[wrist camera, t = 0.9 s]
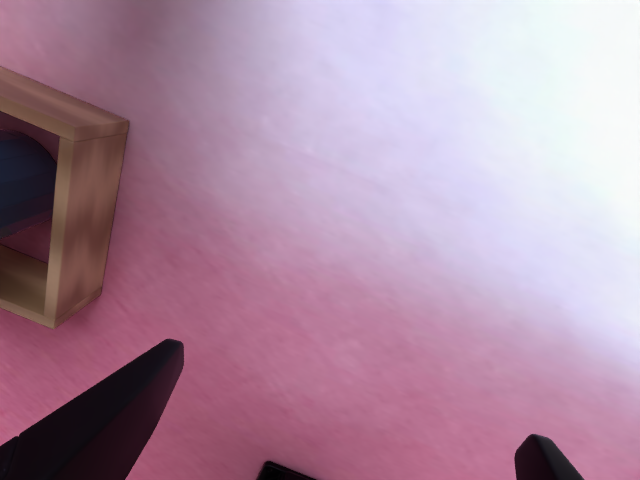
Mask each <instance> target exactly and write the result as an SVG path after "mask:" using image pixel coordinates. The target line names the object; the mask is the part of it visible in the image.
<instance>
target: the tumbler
mask: <svg viewBox="0 0 640 480" xmlns="http://www.w3.org/2000/svg"><path fill="white" fill-rule="evenodd" d="M56 173H57V165H56V163H55V161H54V160H53V158H52V157H51V156H50V154H49V153H48V152H47V151H46V150H45V149H44V148H43V147H42V146H41V145H40V144H39V143H37V142H36V141H35V140H33V139H32V138H30V137H29V136H27V135H25V134H22V133H20V132H17V131H13V130H5V129H3V130H0V240H1V239H3V238H6V237H8V236H11V235H13V234H16V233H18V232H21V231H23V230H26V229H28V228H31V227H33V226H36V225H38V224H40V223H42V222H45V221H47V220H50V219H51V218H52V217H53V206H54V195H55V184H56Z"/></svg>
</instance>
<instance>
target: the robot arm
mask: <svg viewBox="0 0 640 480" xmlns="http://www.w3.org/2000/svg"><path fill="white" fill-rule="evenodd" d="M183 365H184V345H183V343H182V342H181V341H177V340H173V339H166V340H164V341H162V342H161V343H159V344H158V345H156V346H155V347H153V348H151V349H150V350H148V351H147V352H145V353H144V354H142V355H141V356H139V357H138V358H136V359H134V360H133V361H131V362H130V363H128V364H127V365H125V366H124V367H122V368H121V369H119V370H117V371H116V372H114V373H113V374H111V375H110V376H108V377H107V378H105V379H104V380H102V381H100V382H99V383H97V384H96V385H94V386H93V387H91V388H90V389H88V390H87V391H85V392H83V393H82V394H80V395H79V396H77V397H76V398H74V399H73V400H71V401H70V402H68V403H66V404H65V405H63V406H62V407H60V408H59V409H57V410H56V411H54V412H53V413H51V414H49V415H48V416H46V417H45V418H43V419H42V420H40V421H39V422H37V423H36V424H34V425H32V426H31V427H29V428H28V429H26V430H25V431H23V432H22V433H20V435H19V437H18V436H15V437H14V438H12V439H11V440H9V441H7V442H6V443H4V444H3V445H1V446H0V480H125V479H126V477H127V476H128V474H129V472H130V471H131V469H132V467H133V466H134V464H135V462H136V460H137V459H138V457H139V455H140V454H141V452H142V450H143V449H144V447H145V445H146V444H147V442H148V440H149V439H150V437H151V435H152V433H153V431H154V430H155V428H156V426H157V424H158V422H159V419H160V417H161V415H162V413H163V411H164V409H165V407H166V404H167V402H168V400H169V398H170V396H171V394H172V391H173V389H174V387H175V385H176V383H177V381H178V378H179V376H180V374H181V372H182V369H183ZM515 470H516V479H517V480H584V479H583V477H582V476H581V475H580V474H579V473H578V471H577V470H576V469H575V468H574V467H573V465H572V464H571V463H570V462H569V460H568V459H567V458H566V457H565V456H564V454H563V453H562V452H561V451H560V450H559V448H558V447H557V446H556V445H555V443H554V442H553V441H552V440H551V439H549V438H547V437H544V436H540V435H536V434H531V435H529V436H528V437H527V438H526V440H525V441H524V442H523V443H522V444H521V446H520V447H519V448H518V449H517V450H516V453H515ZM256 480H316V479H313V478H311V477H308V476H306V475H303V474H301V473H298V472H296V471H293V470H291V469H288V468H286V467H283V466H281V465H278V464H276V463H273V462H271V461H267V462H265V463H264V465H263V467H262V469H261V471H260V473H259V475H258V477H257V479H256Z"/></svg>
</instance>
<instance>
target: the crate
mask: <svg viewBox="0 0 640 480" xmlns="http://www.w3.org/2000/svg"><path fill="white" fill-rule="evenodd" d="M0 111H1V112H4V113H6V114H8V115H11V116H13V117H16V118H18V119H20V120H23V121H25V122H27V123H30V124H32V125H35V126H37V127H39V128H42V129H44V130H47V131H49V132H51V133H54V134H56V135H58V136H61V137H60V139H59V150H58V161H57V173H56V184H55V195H54V206H53V217H52V228H51V240H50V251H49V262H48V264H46V263H44V262H41V261H39V260H37V259H34V258H32V257H29V256H27V255H24V254H22V253H19V252H17V251H15V250H12V249H10V248H7V247H5V246H2V245H0V308H2V309H5V310H7V311H9V312H12V313H14V314H17V315H19V316H22V317H24V318H27V319H29V320H32V321H34V322H37V323H39V324H41V325H44V326H46V327H49V328H51V329H55V328H56V327H58V326H59V325H60V324H62V323H63V322H64V321H66V320H67V319H68V318H70V317H71V316H73V315H74V314H75V313H77V312H78V311H79V310H81V309H82V308H83V307H85V306H86V305H87V304H89V303H90V302H91V301H93V300H94V299H95V298H97V297H98V296H99V295H101V290H102V283H103V277H104V271H105V265H106V259H107V253H108V247H109V241H110V234H111V228H112V222H113V216H114V210H115V204H116V198H117V192H118V186H119V180H120V174H121V168H122V162H123V156H124V150H125V143H126V137H127V132H128V127H129V120H126V119H124V118H122V117H119V116H117V115H115V114H112V113H110V112H108V111H105V110H103V109H100V108H98V107H96V106H93V105H91V104H89V103H86V102H84V101H82V100H79V99H77V98H74V97H72V96H70V95H67V94H65V93H63V92H60V91H58V90H56V89H53V88H51V87H49V86H46V85H44V84H41V83H39V82H37V81H34V80H32V79H30V78H27V77H25V76H23V75H20V74H18V73H15V72H13V71H11V70H8V69H6V68H4V67H1V66H0Z"/></svg>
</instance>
